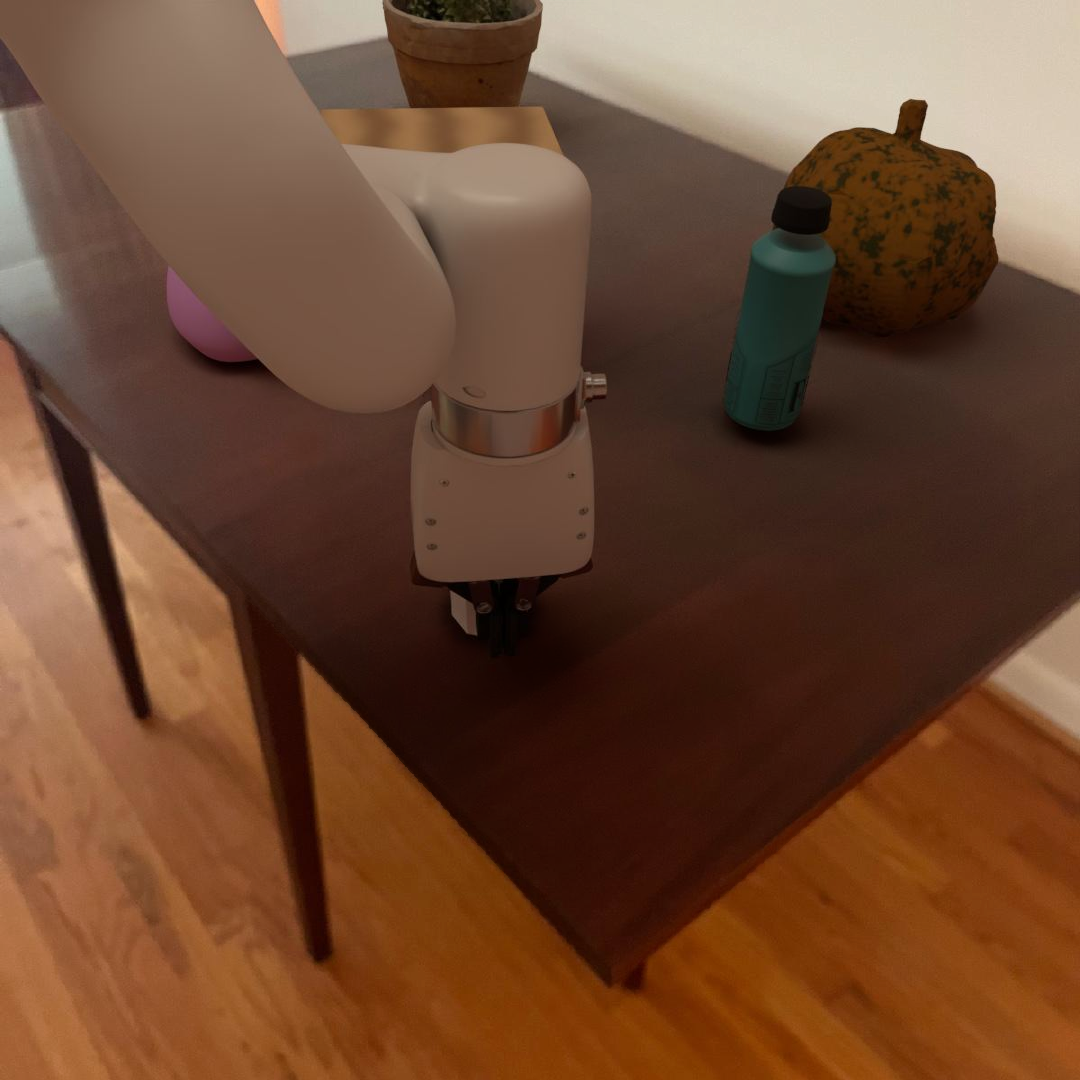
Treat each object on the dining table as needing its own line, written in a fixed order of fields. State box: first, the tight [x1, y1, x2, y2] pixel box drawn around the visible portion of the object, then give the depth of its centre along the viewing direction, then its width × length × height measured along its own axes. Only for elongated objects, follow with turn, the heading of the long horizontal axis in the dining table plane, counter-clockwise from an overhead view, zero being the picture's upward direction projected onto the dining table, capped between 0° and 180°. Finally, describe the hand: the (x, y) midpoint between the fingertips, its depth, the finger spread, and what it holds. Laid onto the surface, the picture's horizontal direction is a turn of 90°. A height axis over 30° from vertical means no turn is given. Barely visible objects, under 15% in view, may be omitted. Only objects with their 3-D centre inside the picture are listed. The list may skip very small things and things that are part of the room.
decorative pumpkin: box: [771, 98, 999, 339], centre depth 97 cm, size 20×21×20 cm
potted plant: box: [381, 0, 544, 108], centre depth 123 cm, size 18×19×25 cm
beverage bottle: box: [722, 186, 836, 432], centre depth 81 cm, size 6×7×20 cm
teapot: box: [166, 265, 259, 363], centre depth 90 cm, size 20×13×12 cm, turn 27°
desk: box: [320, 106, 565, 157], centre depth 87 cm, size 18×12×20 cm, turn 99°
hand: (500, 640), depth 66 cm, fingers closed
